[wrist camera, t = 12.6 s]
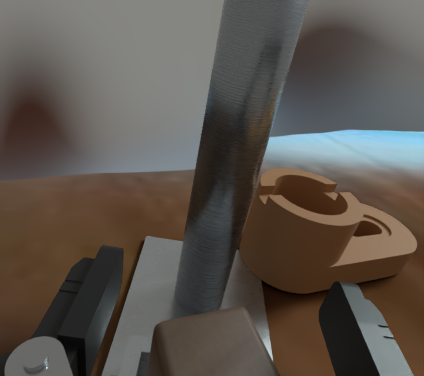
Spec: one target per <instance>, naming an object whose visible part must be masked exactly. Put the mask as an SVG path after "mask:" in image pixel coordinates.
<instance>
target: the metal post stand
mask: <svg viewBox="0 0 424 376" xmlns="http://www.w3.org/2000/svg"><path fill="white" fill-rule="evenodd" d="M308 2H309V0H224V4H223V10H222V16H221V22H220V28H219V34H218V39H217V45H216V51H215V58H214V63H213V69H212V75H211V80H210V86H209V92H208V98H207V104H206V110H205V116H204V121H203V127H202V133H201V140H200V145H199V151H198V157H197V163H196V168H195V174H194V180H193V186H192V192H191V198H190V203H189V209H188V215H187V221H186V227H185V233H184V239H183V242H182V241H176V240H169V239H163V238H156V237H150V236H146V239H145V242H144V245H143V248H142V252H141V255H140V258H139V261H138V264H137V267H136V270H135V273H134V277H133V280H132V283H131V286H130V289H129V292H128V295H127V298H126V302H125V305H124V308H123V311H122V314H121V317H120V320H119V323H118V326H117V330H116V333H115V336H114V339H113V342H112V345H111V348H110V351H109V355H108V358H107V361H106V364H105V367H104V370H103V373H102V376H147V370H148V363H149V356H150V350H151V343H152V336H153V331H154V327H155V326H156V325H157V324H158V323H160V322H162V321H166V320H171V319H176V318H181V317H186V316H192V315H197V314H202V313H207V312H212V311H217V310H222V309H227V308H232V307H237V306H240V307H244V308H245V309H246V310H247V311H248V313H249V315H250V317H251V319H252V321H253V323H254V325H255V327H256V329H257V331H258V333H259V335H260V337H261V339H262V341H263V343H264V345H265V347H266V349H267V351H268V353H269V355H270V357H271V359H272V361H273V357H272V350H271V343H270V337H269V330H268V323H267V316H266V309H265V303H264V296H263V289H262V282H261V279H260V278H258V277H257V276H256V275H255V274H253V273H252V272H251V271H250V269H249V268H248V267H247V266H246V264H245V262H244V261H243V259H242V257H241V254H240V250H237V248H238V245H239V241H240V238H241V234H242V231H243V227H244V224H245V220H246V217H247V213H248V210H249V206H250V203H251V199H252V196H253V192H254V189H255V186H256V182H257V179H258V175H259V172H260V168H261V165H262V161H263V158H264V154H265V151H266V147H267V144H268V140H269V137H270V133H271V130H272V127H273V123H274V119H275V116H276V113H277V109H278V105H279V102H280V99H281V95H282V92H283V88H284V85H285V81H286V78H287V74H288V71H289V68H290V64H291V60H292V57H293V54H294V50H295V47H296V43H297V40H298V36H299V33H300V29H301V26H302V22H303V19H304V15H305V12H306V9H307V5H308Z"/></svg>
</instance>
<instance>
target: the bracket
mask: <svg viewBox="0 0 424 376" xmlns="http://www.w3.org/2000/svg"><path fill="white" fill-rule="evenodd" d="M336 185H337V184H336V183H334V182H333V181H331V180H329V179H326V178H324V177H322V176H319V175H316V174H313V173H310V172H307V171H303V170H298V169H291V168H276V169H271V170H268V171H266V172H265V173H264V174H263V175H262V176H261V179H260V182H259V185H258V188H257V191H256V194H255V198H254V201H253V204H252V207H251V210H250V213H249V216H248V219H247V222H246V225H245V229H244V232H243V235H242V238H241V241H240V246H239V249H240V254H241V257H242V259H243V261H244V262H245V264H246V266H247V267H248V268H249V269H250V271H251V272H252V273H253V274H255V275H256V276H257V277H258V278H260V279H261V280H262V281H264V282H266V283H267V284H269V285H271V286H273V287H275V288H278V289H280V290H283V291H287V292H292V293H299V294H305V293H312V292H317V291H322V290H327V289H330V288H331V286H332V284H333V283H334V282H335V281H339V282H346V283H353V284H356V283H360V282H365V281H370V280H375V279H380V278H384V277H389V276H393V275H396V274H398V273H399V272H400V271H401V270H402V268H403V267H404V265H405V264H406V263H407V261H408V260H409V258H410V257H411V255H412V254H413V253H414V251H415V250H416V248H417V242H416V239H415V237H414V236H413V234H412V233H411V232H410V231H409V230H408V229H407V228H406V227H405V226H404V225H403V224H402V223H400V222H399V221H398V220H396V219H395V218H393V217H392V216H390V215H388V214H386V213H384V212H382V211H380V210H378V209H376V208H373V207H371V206H368V205H365V204H361V203H359V201H358V200H357V199H356V198H355V197H354V196H353V195H352V194H351V193H350V192H342V193H339V194H336V193H335V192H334V190H335V188H336Z"/></svg>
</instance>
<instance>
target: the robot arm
mask: <svg viewBox="0 0 424 376" xmlns="http://www.w3.org/2000/svg"><path fill="white" fill-rule="evenodd" d="M123 252H124V251H123V248H118V247H112V246H105V245H102V246H101V248H100V250H99V252H98V254H97V256H96V258H95V259H91V258H83V259H82V260H80V261H79V262H78V263H77V264H75V265H74V266H73V267H72V268H71V270H70V272H69V274H68V275H67V277H66V279H65V282H63V284H62V286H61V288H60V289H59V292H58V293H57V295H56V297H55V298H54V300H53V302H52V304H51V305H50V307H49V309H48V311H47V312H46V314H45V316H44V318H43V319H42V321H41V323H40V325H39V327H38V328H37V330H36V332H35V333H34V335H33V336H32V337H31V338H30V339H29V340H28V341H26V342H24V343H22V344H21V345H20V346H18V347H17V348H16V349H15V350H14V351H12V352H10V353H7V354H4V355H0V376H90V375H91V372H92V369H93V366H94V363H95V361H96V358H97V355H98V352H99V349H100V346H101V344H102V341H103V338H104V335H105V332H106V329H107V326H108V324H109V321H110V318H111V315H112V312H113V309H114V307H115V304H116V301H117V298H118V295H119V292H120V288H121V283H122V273H123ZM319 323H320V326H321V329H322V333H323V336H324V339H325V342H326V346H327V349H328V352H329V355H330V358H331V362H332V365H333V368H334V371H335V375H336V376H414V375H413V374H412V372H411V370H410V368H409V366H408V364H407V362H406V360H405V358H404V356H403V354H402V352H401V350H400V349H399V347H398V345H397V343H396V341H395V340H394V339H393V338H394V337H393V335H392V333H391V331H390V329H388V325H387V324H386V322H385V320H384V318H383V316H382V314H381V312H380V311H379V310H378V309H377V308H376V307H375V306H374V305H373V304H372V302H371V301H370V300H365V298H364V296H363V294H362V292H361V290H360V288H359V286H358V285H357V284H353V283H346V282H339V281H335V282H334V283H333V284H332V286H331V288H330V290H329V292H328V294H327V295H326V297H325V299H324V301H323V303H322V305H321V307H320V310H319Z"/></svg>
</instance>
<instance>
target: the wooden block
mask: <svg viewBox="0 0 424 376" xmlns="http://www.w3.org/2000/svg"><path fill="white" fill-rule="evenodd" d="M147 376H280V375H279V373H278V371H277V369H276V367H275V365H274V363H273V361H272V359H271V357H270V355H269V353H268V351H267V349H266V347H265V345H264V343H263V341H262V339H261V337H260V335H259V333H258V331H257V329H256V327H255V325H254V323H253V321H252V319H251V317H250V315H249V313H248V311H247V310H246V309H245V308H244V307H240V306H237V307H232V308H227V309H222V310H217V311H212V312H207V313H202V314H197V315H192V316H186V317H181V318H176V319H171V320H166V321H162V322H160V323H158V324H157V325H156V326H155V327H154V331H153V336H152V343H151V350H150V356H149V363H148V370H147Z"/></svg>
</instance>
